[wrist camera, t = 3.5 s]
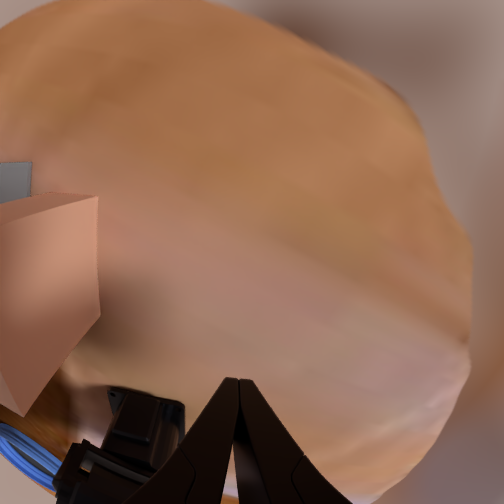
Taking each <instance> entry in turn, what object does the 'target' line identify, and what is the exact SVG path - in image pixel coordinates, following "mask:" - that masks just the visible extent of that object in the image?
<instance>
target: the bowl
mask: <svg viewBox="0 0 504 504" xmlns="http://www.w3.org/2000/svg"><path fill="white" fill-rule="evenodd" d="M0 452H1V453H2V454H3V455H4V456H5V457H6V458H7V459H8V460H9V461H10V462H11V463H12V464H13V465H14V466H15V467H17V468H18V469H19V470H20V471H22V472H23V473H24V474H25V475H27V476H28V477H30V478H31V479H33V480H34V481H36V482H37V483H39V484H41V485H42V486H44V487H46V488H48V489H50V490H52V491H54V492H55V490H54V488H53V486H52V480H53V478H54V476H55V474H56V473H57V471H58V469H59V468H60V466H61V464H62V462H61V461H60V460H58V459H57V458H56V457H55V456H53V455H52V454H51V453H49V452H48V451H47V450H46V449H44V448H43V447H42V446H40V445H39V444H37V443H36V442H35V441H33V440H32V439H30V438H29V437H28V436H26V435H25V434H23V433H21V432H20V431H18V430H17V429H15V428H13V427H11V426H9V425H7V424H4V423H0Z"/></svg>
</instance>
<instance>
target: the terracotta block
mask: <svg viewBox="0 0 504 504" xmlns="http://www.w3.org/2000/svg"><path fill="white" fill-rule="evenodd" d="M97 214H98V196H92V195H80V194H67V193H53V192H49V193H44V194H40V195H35V196H31V197H26V198H22V199H18V200H14V201H10V202H6V203H2V204H0V404H2V405H4V406H5V407H7V408H8V409H10V410H12V411H13V412H15V413H17V414H18V415H20V416H22V417H24V416H25V415H26V413H27V412H28V410H29V409H30V407H31V406H32V404H33V403H34V401H35V400H36V399H37V397H38V396H39V394H40V393H41V391H42V390H43V389H44V387H45V386H46V385H47V383H48V382H49V380H50V379H51V378H52V376H53V375H54V374H55V372H56V371H57V370H58V368H59V367H60V366H61V364H62V363H63V362H64V360H65V359H66V358H67V357H68V355H69V354H70V353H71V351H72V350H73V349H74V348H75V346H76V345H77V344H78V343H79V341H80V340H81V339H82V338H83V336H84V335H85V334H86V333H87V331H88V330H89V329H90V328H91V327H92V325H93V324H94V323H95V322H96V321H97V319H98V318H99V317H100V316H101V312H100V301H99V287H98V268H97Z"/></svg>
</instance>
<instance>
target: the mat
mask: <svg viewBox="0 0 504 504" xmlns="http://www.w3.org/2000/svg"><path fill="white" fill-rule="evenodd" d="M31 168H32V162H14V163H0V204H2V203H6V202H10V201H14V200H18V199H22V198H26V197H30V185H31Z"/></svg>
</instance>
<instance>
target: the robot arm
mask: <svg viewBox="0 0 504 504" xmlns="http://www.w3.org/2000/svg"><path fill="white" fill-rule="evenodd" d="M107 394H108V398H109V401H110V405H111V409H112V413H113V418H112V421H111V423H110V425H109V428H108V430H107V433H106V435H105V438H104V440H103V442H102V445H101V447H100V448H98V447H96V446H94V445H92V444H91V443H90V442H89V441H87V440H86V439H83V441H82V443H81V444H80V443H72V445H71V447H70V449H69V451H68V453H67V455H66V457H65V459H64V461H63V463H62V464H61V466H60V468H59V469H58V471H57V473H56V474H55V476H54V478H53V480H52V486H53V488H54V490H55V492H56V495H55V497H56V498H57V501H56V504H220V503H221V498H222V494H223V489H224V484H225V479H226V474H227V469H228V464H229V459H230V454H231V449H232V444H233V451H234V461H235V470H236V480H237V489H238V497H239V504H353V503H351V502H350V501H349V500H348V499H347V498H346V497H344V496H343V495H342V494H341V493H340V492H339V491H338V490H337V489H336V488H334V487H333V486H332V485H331V484H330V483H329V482H328V481H327V480H326V479H325V478H324V477H323V476H322V475H321V473H320V472H319V471H318V470H317V469H316V468H315V466H314V465H313V464H312V463H311V461H310V460H309V459H308V457H307V456H306V455H304V452H303V451H302V450H301V448H300V447H299V446H298V444H297V443H296V442H295V440H294V439H293V438H292V436H291V435H290V434H289V432H288V431H287V430H286V428H285V427H284V425H283V424H282V423H281V421H280V420H279V418H278V417H277V416H276V414H275V413H274V411H273V410H272V408H271V407H270V406H269V404H268V403H267V401H266V400H265V398H264V397H263V395H262V394H261V392H260V391H259V389H258V388H257V386H256V385H255V383H254V382H253V381H252V380H250V379H239V380H238V379H237V378H231V377H226V378H224V380H223V381H222V383H221V384H220V386H219V387H218V389H217V390H216V392H215V393H214V395H213V396H212V398H211V399H210V401H209V402H208V403H207V405H206V406H205V408H204V409H203V411H202V412H201V414H200V415H199V417H198V418H197V419H196V421H195V422H194V424H193V425H192V427H191V428H190V429H189V431H188V432H187V434H186V435H185V405H184V404H182V403H179V402H174V401H169V400H164V399H159V398H154V397H149V396H145V395H141V394H136V393H132V392H128V391H125V390H121V389H117V388H114V387H110V388H109V390H108V392H107ZM81 467H83V468H85V469H87V470H89V471H90V473H89V472H87V471H85V470H83V469H81Z"/></svg>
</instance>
